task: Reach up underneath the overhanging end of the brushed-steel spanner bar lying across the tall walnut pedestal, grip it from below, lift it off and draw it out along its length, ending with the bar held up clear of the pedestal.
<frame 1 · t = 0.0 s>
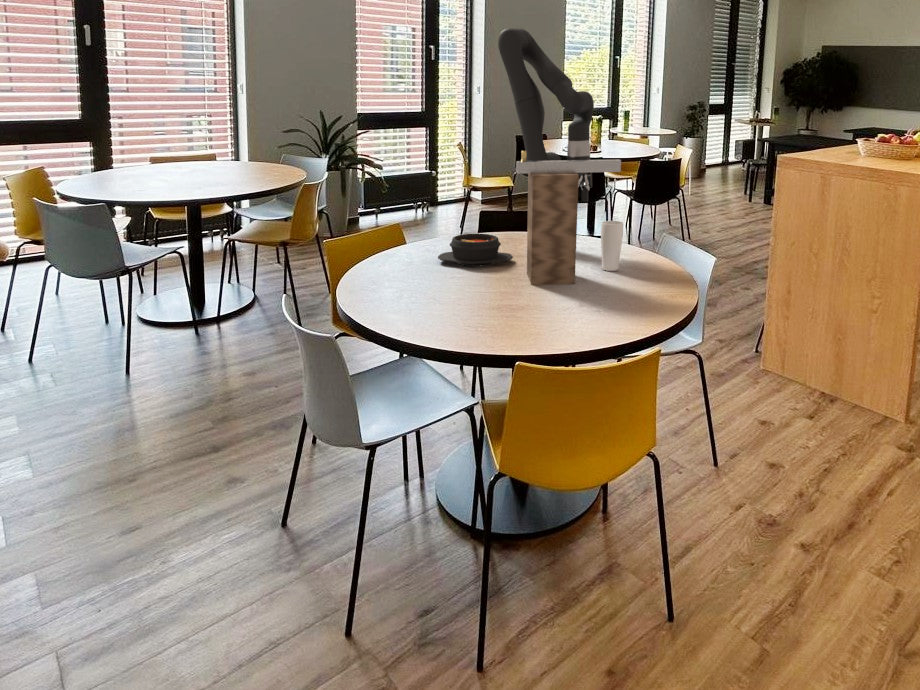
hand: (578, 203, 269), 17 cm above the table, tool pointing down, fingers open, 8 cm apart
drinking glass: (610, 270, 252), on the table
pedestal: (550, 278, 242), on the table
spanner bar: (568, 172, 232), point 32 cm above the table, touching pedestal
casserole: (475, 263, 264), on the table
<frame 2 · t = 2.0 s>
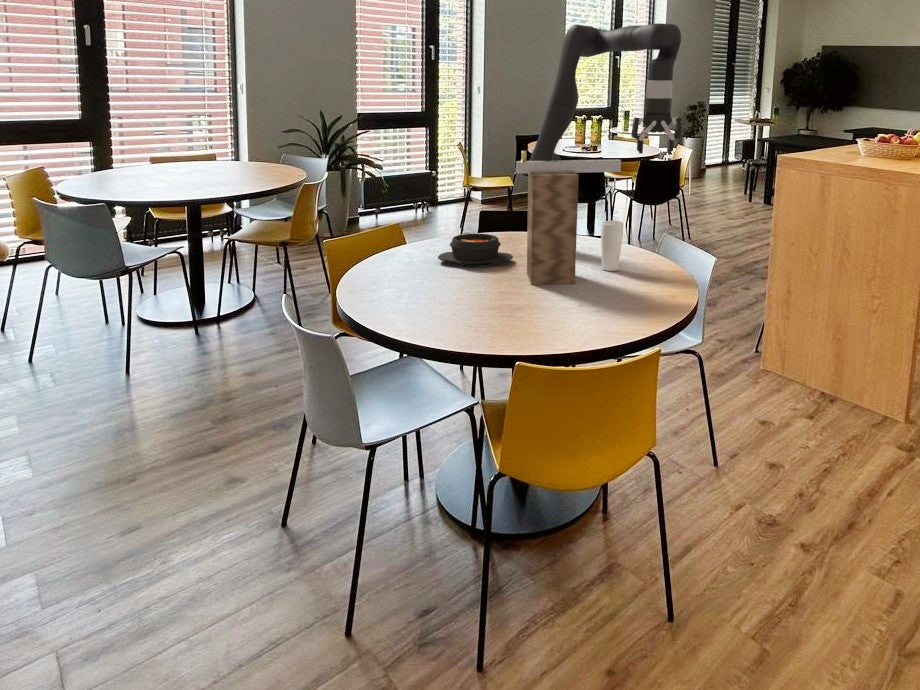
hand: (654, 153, 239), 36 cm above the table, tool pointing down, fingers open, 8 cm apart
nothing on the table moved.
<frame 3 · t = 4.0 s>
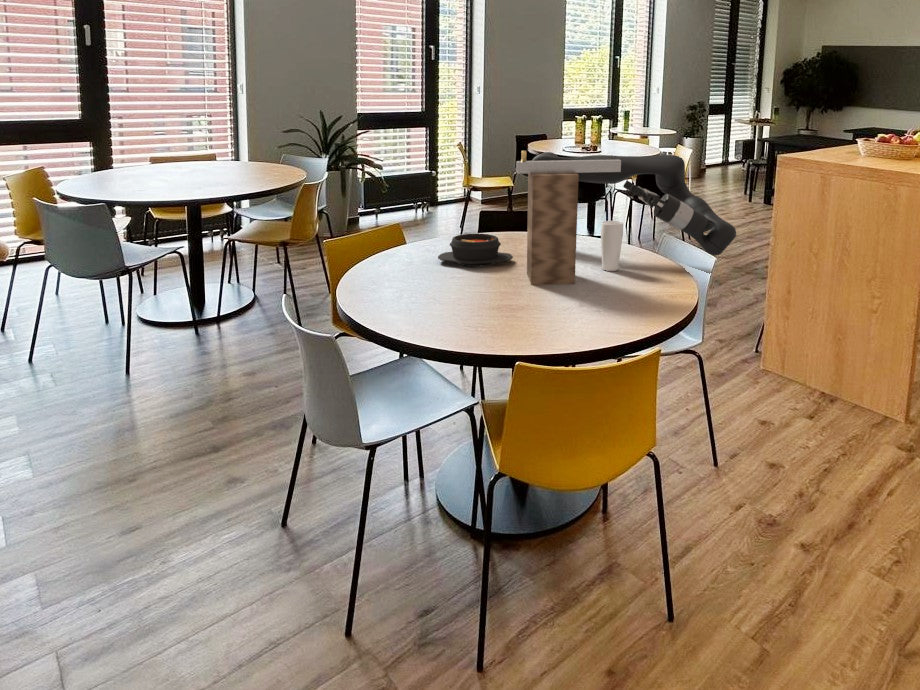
hand: (628, 185, 233), 28 cm above the table, tool pointing upward, fingers open, 8 cm apart
nothing on the table moved.
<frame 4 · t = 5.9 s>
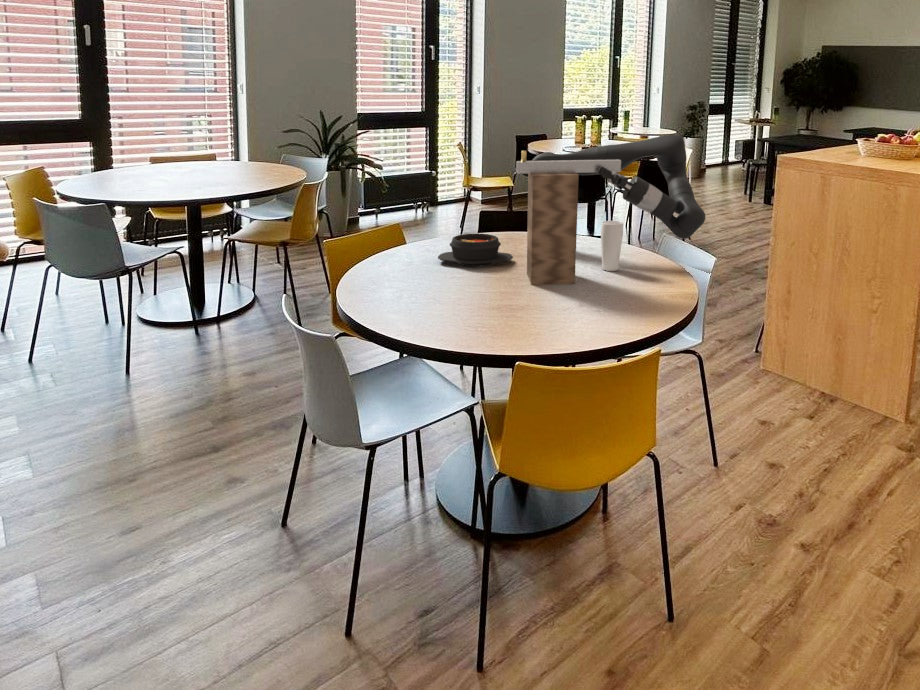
hand: (596, 167, 231), 33 cm above the table, tool pointing upward, fingers open, 8 cm apart
nothing on the table moved.
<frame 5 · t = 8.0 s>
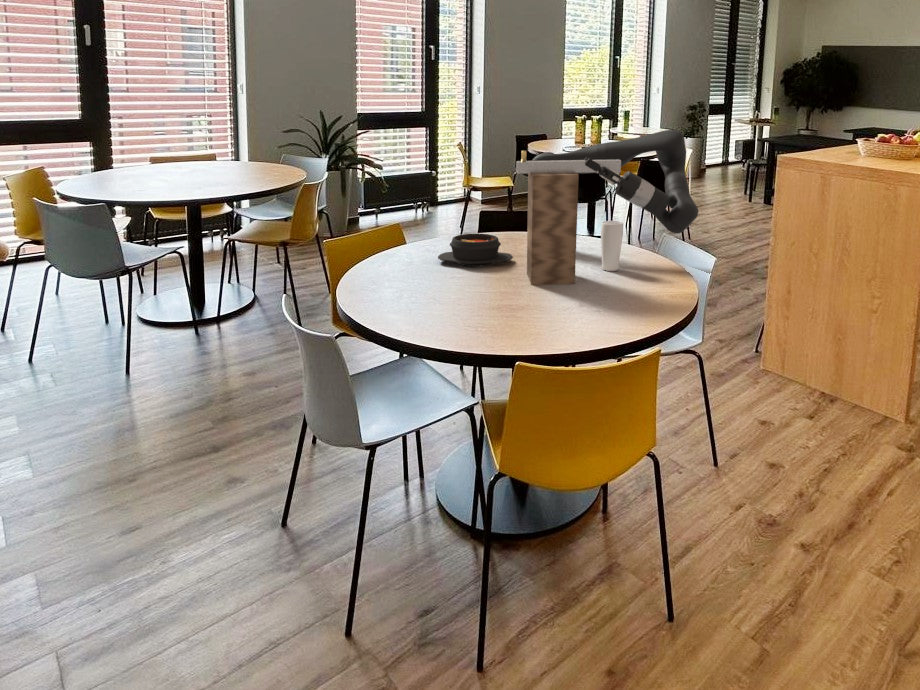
hand: (585, 160, 231), 35 cm above the table, tool pointing upward, fingers closed on spanner bar, 3 cm apart
spanner bar: (568, 172, 232), point 32 cm above the table, touching gripper, pedestal
everything else where it was.
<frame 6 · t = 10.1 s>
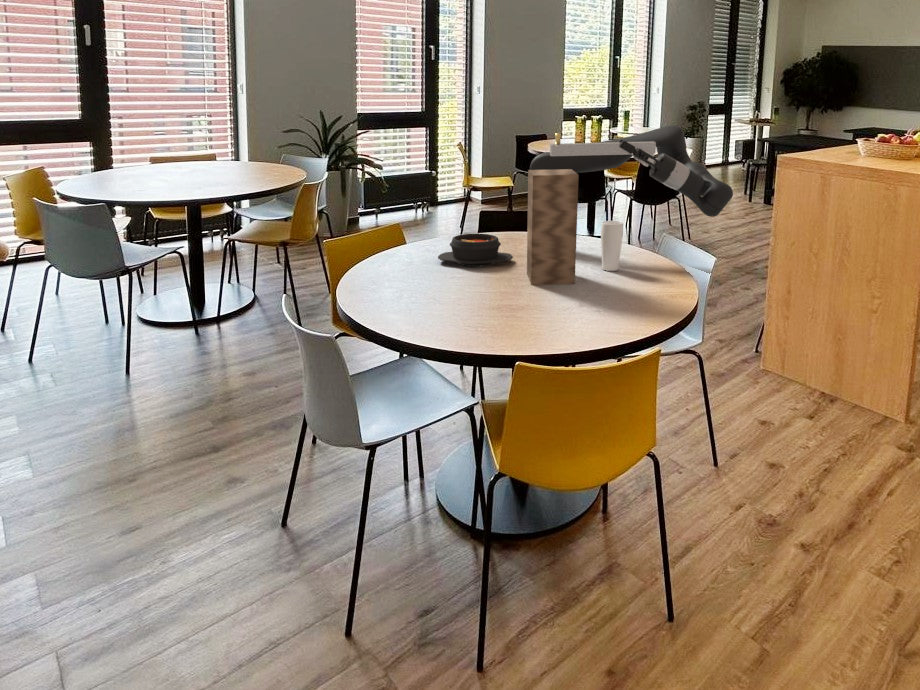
hand: (620, 143, 229), 40 cm above the table, tool pointing upward, fingers closed on spanner bar, 3 cm apart
spanner bar: (602, 154, 230), point 37 cm above the table, touching gripper
everything else where it was.
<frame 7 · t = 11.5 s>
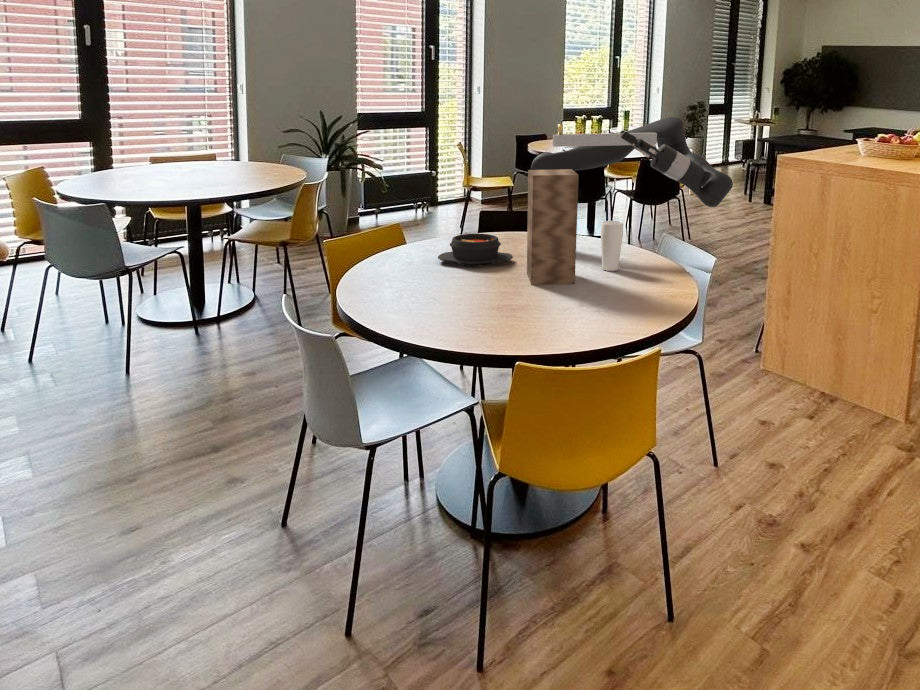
hand: (621, 133, 232), 42 cm above the table, tool pointing upward, fingers closed on spanner bar, 3 cm apart
spanner bar: (604, 145, 233), point 39 cm above the table, touching gripper
everything else where it was.
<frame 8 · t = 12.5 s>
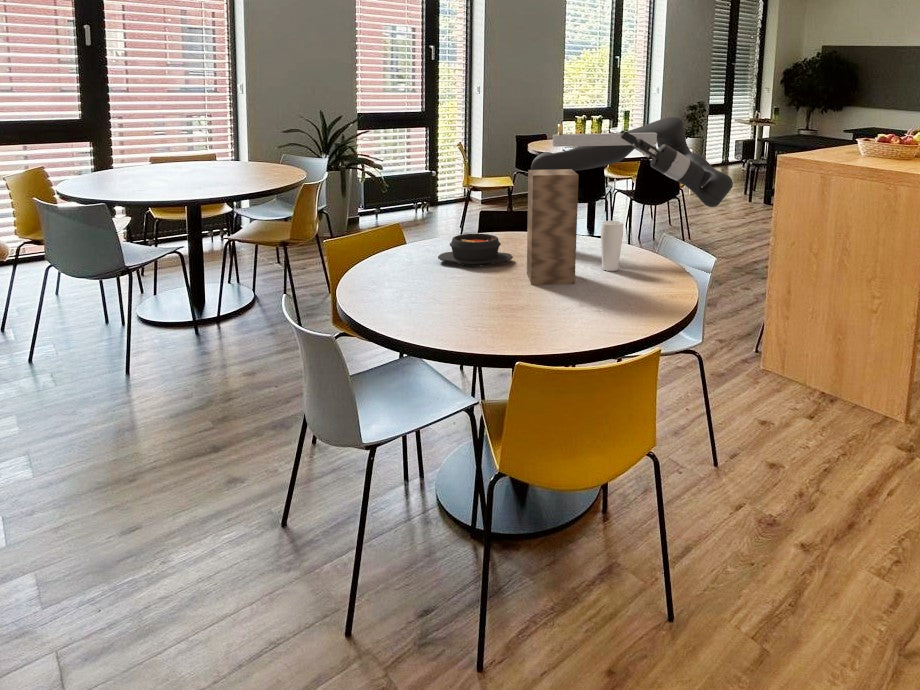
hand: (621, 133, 232), 42 cm above the table, tool pointing upward, fingers closed on spanner bar, 3 cm apart
spanner bar: (604, 145, 233), point 39 cm above the table, touching gripper
everything else where it was.
at the end: the gripper is holding spanner bar; spanner bar point 39.1 cm above the table; spanner bar moved 13.7 cm from its start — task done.
